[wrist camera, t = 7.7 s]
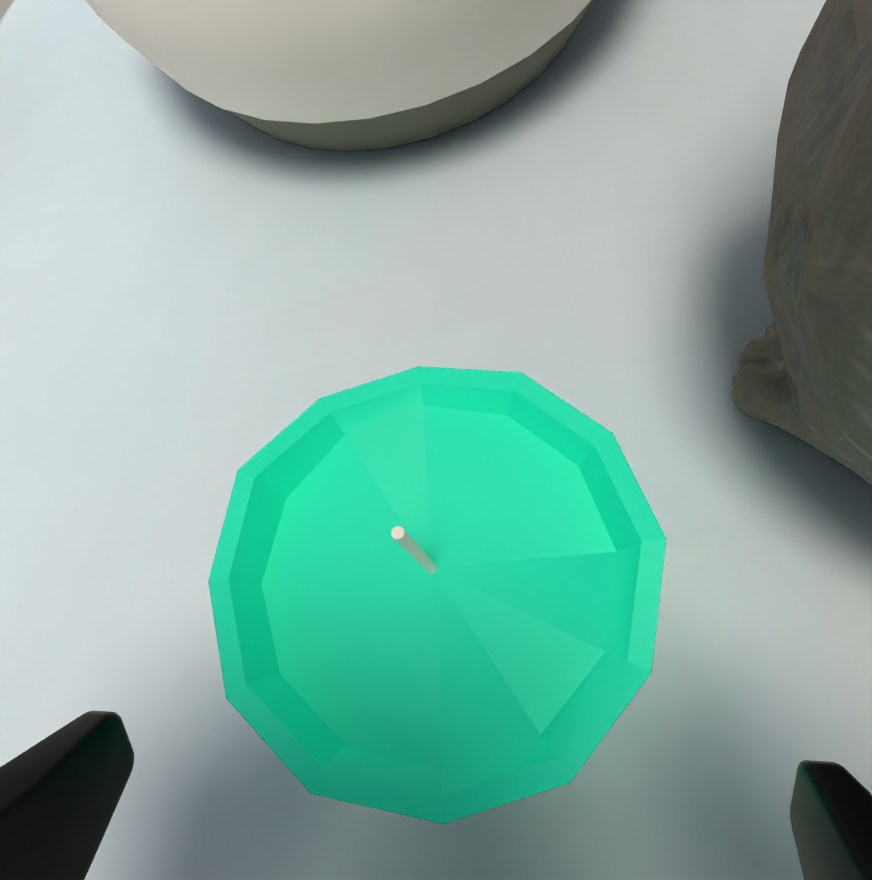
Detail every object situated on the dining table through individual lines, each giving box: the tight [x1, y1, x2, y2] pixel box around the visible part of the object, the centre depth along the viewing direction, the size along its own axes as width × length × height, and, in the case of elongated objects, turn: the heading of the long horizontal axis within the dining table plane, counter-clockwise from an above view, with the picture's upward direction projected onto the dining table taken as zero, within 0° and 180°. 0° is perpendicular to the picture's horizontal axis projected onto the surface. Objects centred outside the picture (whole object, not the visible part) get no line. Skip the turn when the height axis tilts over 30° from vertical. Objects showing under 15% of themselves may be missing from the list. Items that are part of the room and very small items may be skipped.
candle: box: [208, 366, 666, 824], centre depth 12 cm, size 6×6×12 cm
